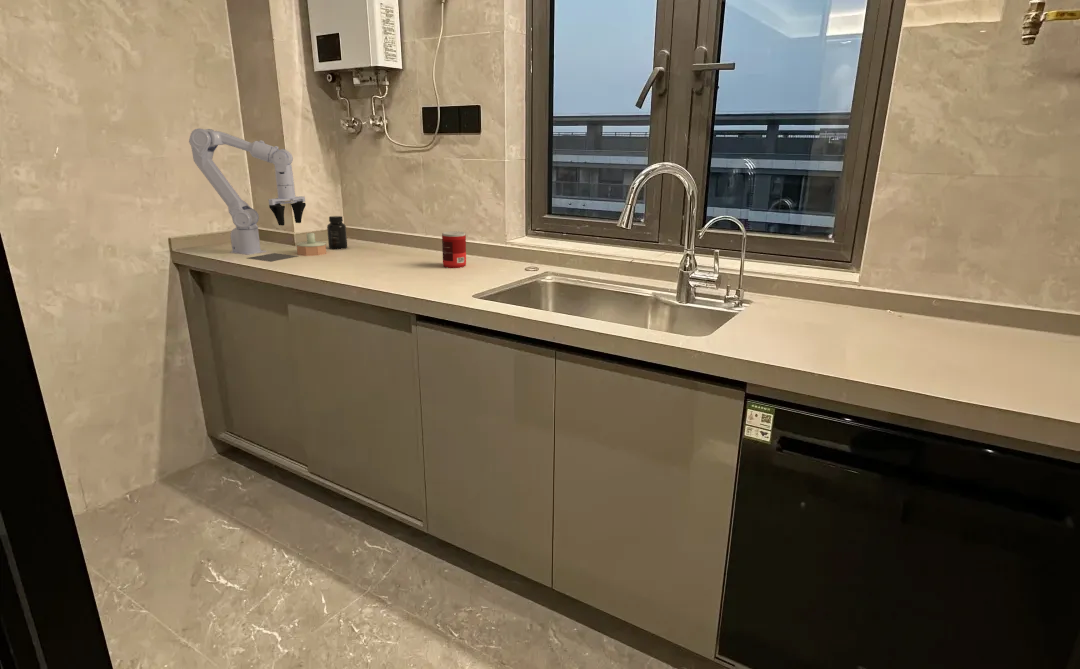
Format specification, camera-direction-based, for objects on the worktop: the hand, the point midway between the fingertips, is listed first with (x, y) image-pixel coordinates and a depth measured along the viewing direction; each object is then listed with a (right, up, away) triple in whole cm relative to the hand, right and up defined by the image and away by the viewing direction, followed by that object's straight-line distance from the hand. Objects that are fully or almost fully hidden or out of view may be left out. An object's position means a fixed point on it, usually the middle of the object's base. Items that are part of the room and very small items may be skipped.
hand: (290, 224), depth 222 cm
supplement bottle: (+12, -7, +15) cm, 21 cm away
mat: (-3, -13, -8) cm, 15 cm away
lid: (+8, -7, 0) cm, 10 cm away
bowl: (+7, -11, +1) cm, 13 cm away
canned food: (+61, -17, -15) cm, 65 cm away
